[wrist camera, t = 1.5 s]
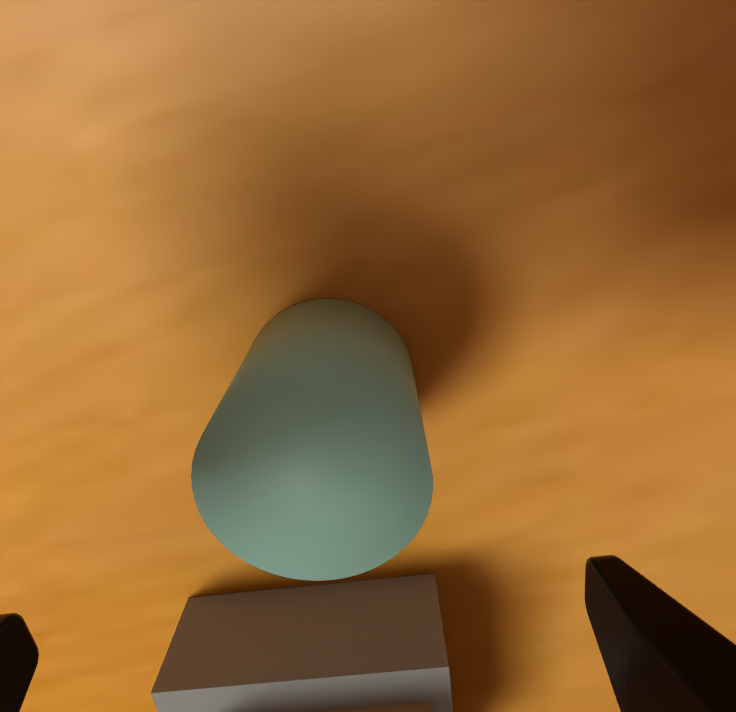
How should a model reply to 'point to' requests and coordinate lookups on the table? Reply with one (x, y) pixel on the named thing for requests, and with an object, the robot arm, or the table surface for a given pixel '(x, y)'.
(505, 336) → the table surface
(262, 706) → the slate base
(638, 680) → the robot arm
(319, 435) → the teal cylinder
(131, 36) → the table surface
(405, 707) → the walnut block
